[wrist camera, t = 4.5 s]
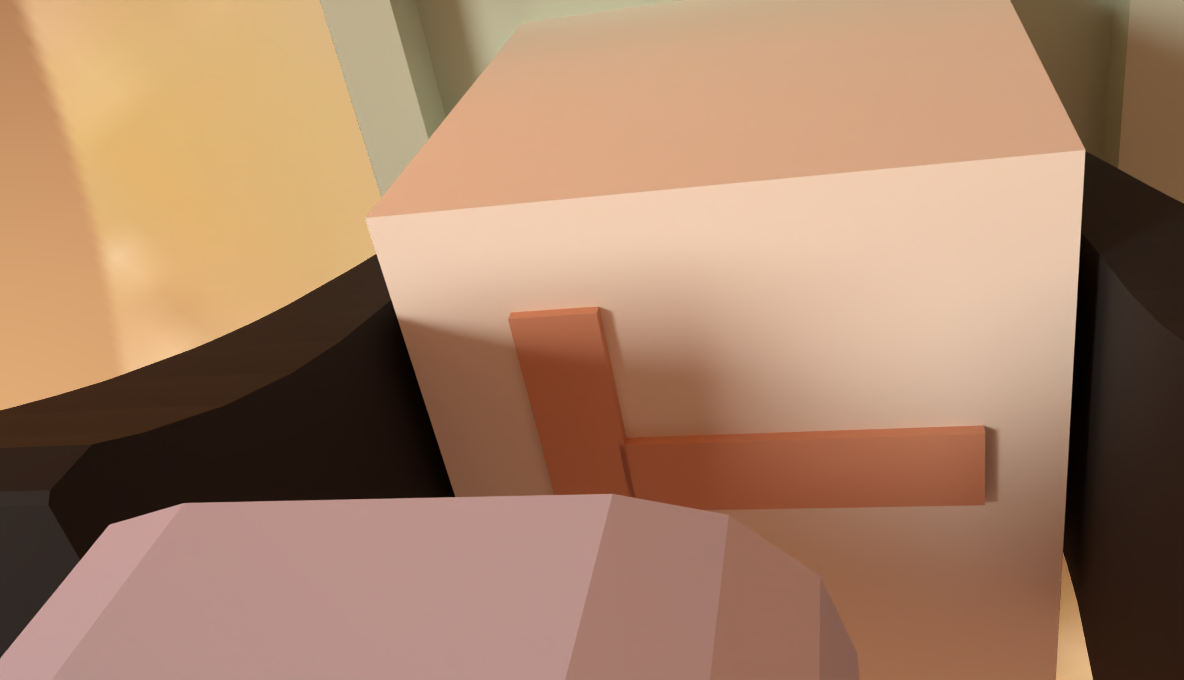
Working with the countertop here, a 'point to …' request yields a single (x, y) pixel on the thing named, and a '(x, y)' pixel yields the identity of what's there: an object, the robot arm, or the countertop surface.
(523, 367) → the letter cube
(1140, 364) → the robot arm
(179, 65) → the countertop surface
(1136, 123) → the tray sage
